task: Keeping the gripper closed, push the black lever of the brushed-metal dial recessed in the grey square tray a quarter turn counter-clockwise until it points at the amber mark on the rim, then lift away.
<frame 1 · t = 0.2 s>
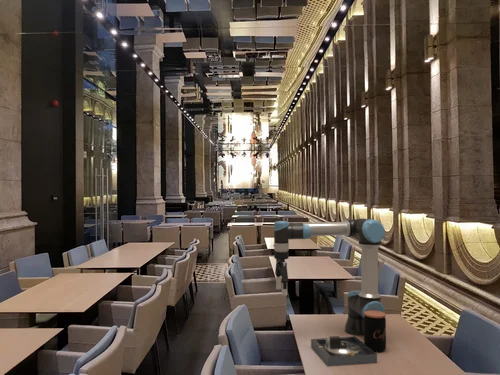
hand: (281, 292, 212), 28 cm above the table, fingers open, 13 cm apart
coffee jar: (374, 349, 207), on the table
dial: (342, 343, 200), point 6 cm above the table, hinge at 0.0°
grey square tray: (342, 354, 200), on the table
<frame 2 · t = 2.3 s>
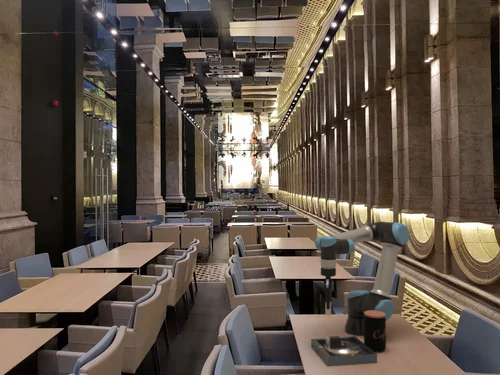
hand: (328, 314, 203), 18 cm above the table, fingers closed
nothing on the table moved.
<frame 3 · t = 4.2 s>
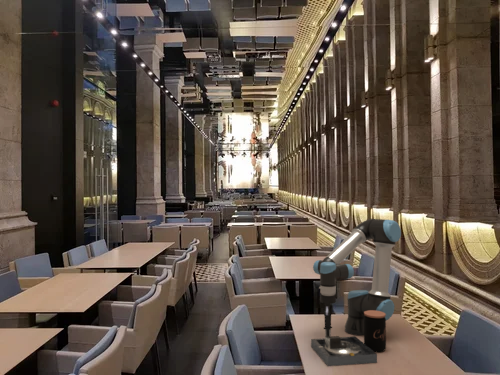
hand: (327, 342, 201), 6 cm above the table, fingers closed
dial: (342, 343, 200), point 6 cm above the table, hinge at 0.3°, touching gripper
everything else where it was.
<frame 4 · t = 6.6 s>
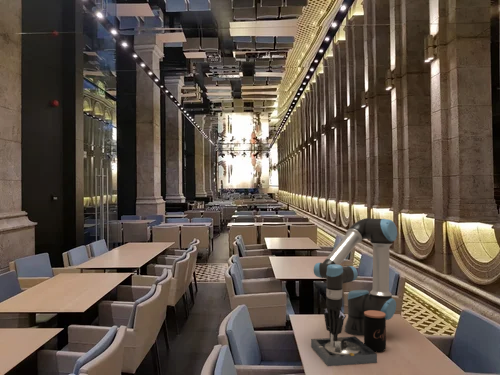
hand: (333, 346, 195), 5 cm above the table, fingers closed
dial: (342, 343, 200), point 6 cm above the table, hinge at 52.4°, touching gripper
everything else where it was.
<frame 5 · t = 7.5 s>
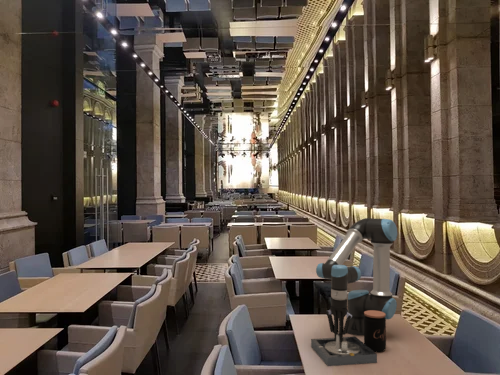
hand: (338, 348, 194), 5 cm above the table, fingers closed
dial: (342, 343, 200), point 6 cm above the table, hinge at 74.1°, touching gripper
everything else where it was.
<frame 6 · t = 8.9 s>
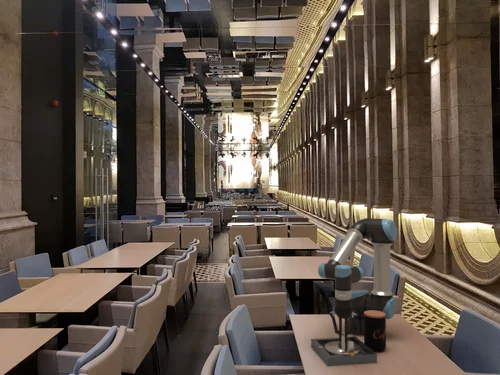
hand: (343, 348, 192), 6 cm above the table, fingers closed
dial: (342, 343, 200), point 6 cm above the table, hinge at 97.5°
everything else where it was.
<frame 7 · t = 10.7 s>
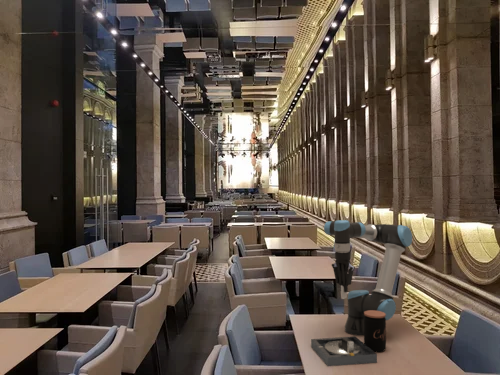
hand: (343, 298, 205), 26 cm above the table, fingers closed
nothing on the table moved.
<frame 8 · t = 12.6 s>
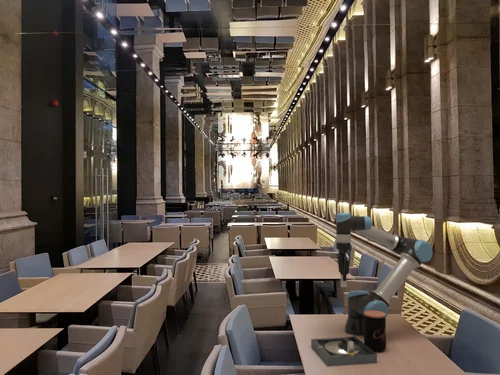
hand: (343, 286, 216), 29 cm above the table, fingers closed
nothing on the table moved.
at the end: dial at +98° (first picture: +0°) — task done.
